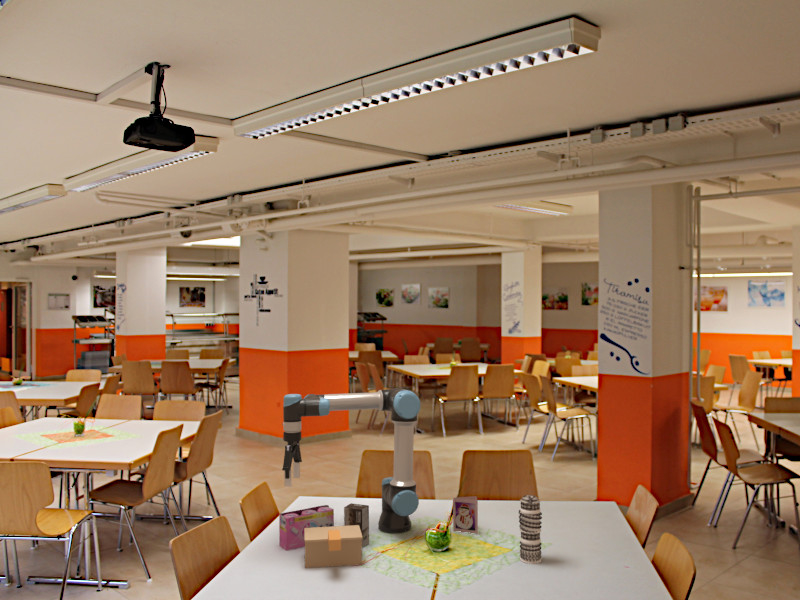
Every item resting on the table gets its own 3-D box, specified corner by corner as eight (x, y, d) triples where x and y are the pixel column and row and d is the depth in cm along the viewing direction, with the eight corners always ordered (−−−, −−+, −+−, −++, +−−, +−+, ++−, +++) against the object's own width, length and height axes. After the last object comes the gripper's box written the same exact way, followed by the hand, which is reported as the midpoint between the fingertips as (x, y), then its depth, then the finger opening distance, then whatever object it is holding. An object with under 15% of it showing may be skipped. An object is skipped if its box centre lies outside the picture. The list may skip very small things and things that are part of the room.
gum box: (328, 534, 284) (328, 504, 285) (337, 539, 278) (337, 508, 278) (278, 545, 271) (278, 513, 271) (286, 551, 264) (286, 518, 265)
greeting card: (452, 531, 287) (452, 498, 288) (457, 526, 294) (457, 494, 295) (477, 534, 283) (477, 500, 284) (481, 529, 290) (481, 496, 290)
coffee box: (369, 543, 273) (369, 505, 274) (362, 548, 267) (362, 509, 268) (351, 540, 277) (351, 502, 277) (343, 544, 271) (343, 506, 272)
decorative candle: (528, 566, 247) (528, 501, 248) (514, 558, 256) (513, 495, 256) (547, 561, 252) (546, 498, 252) (532, 554, 260) (531, 492, 261)
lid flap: (359, 527, 263) (359, 517, 264) (365, 548, 238) (365, 538, 239) (304, 529, 260) (304, 520, 260) (304, 552, 235) (304, 541, 235)
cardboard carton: (358, 551, 263) (358, 527, 263) (361, 564, 249) (361, 538, 250) (304, 554, 260) (304, 529, 260) (305, 567, 246) (305, 541, 246)
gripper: (291, 426, 281) (291, 474, 281) (275, 436, 256) (274, 489, 256) (308, 426, 281) (308, 474, 280) (293, 436, 256) (293, 489, 255)
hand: (292, 481), depth 268 cm, fingers open, 13 cm apart
